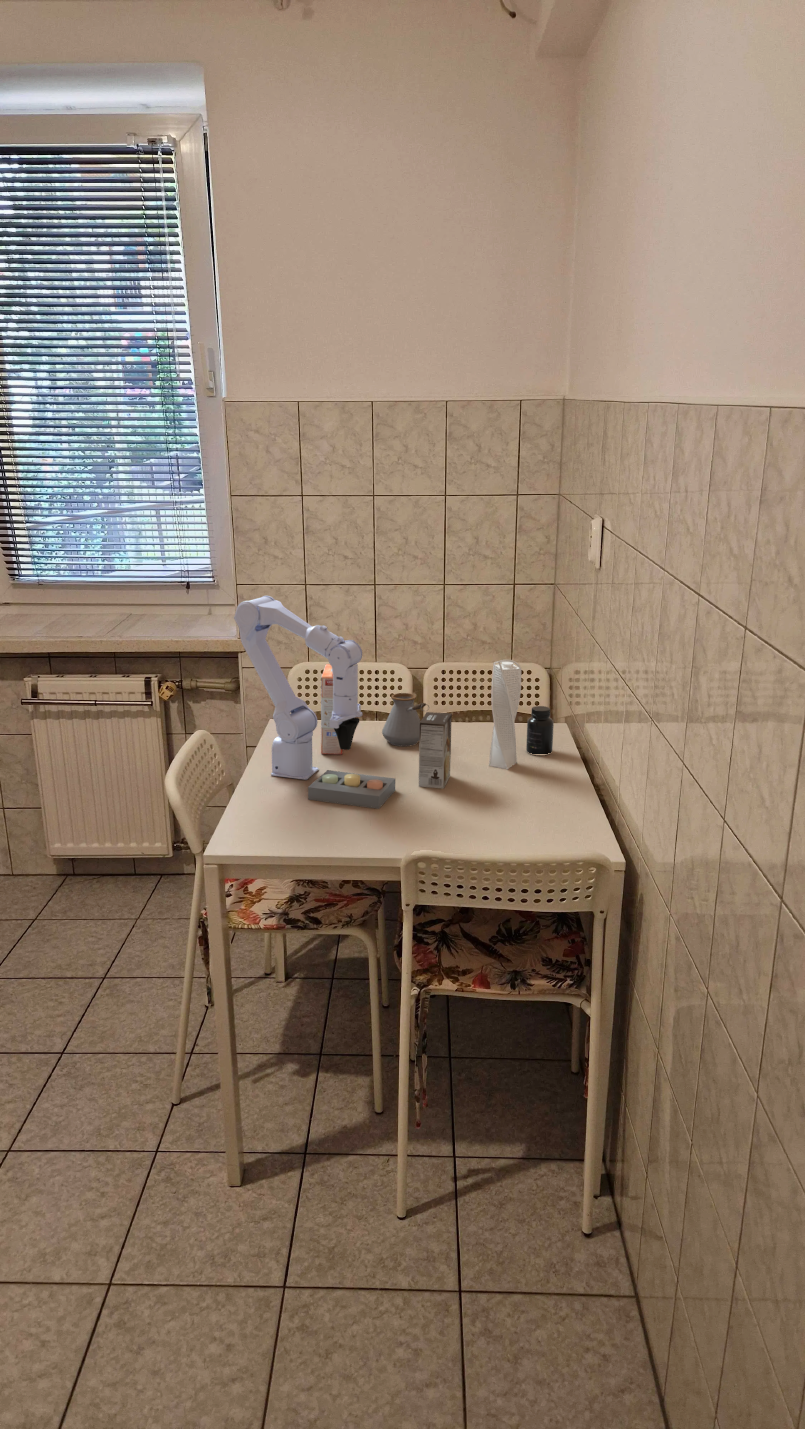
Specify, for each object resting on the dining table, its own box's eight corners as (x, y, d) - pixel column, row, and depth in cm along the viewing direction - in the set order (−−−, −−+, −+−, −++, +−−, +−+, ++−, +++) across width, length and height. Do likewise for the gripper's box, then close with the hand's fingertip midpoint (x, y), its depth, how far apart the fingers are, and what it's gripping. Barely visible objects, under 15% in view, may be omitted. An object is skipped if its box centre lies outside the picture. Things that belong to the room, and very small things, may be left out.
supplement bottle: (533, 746, 266) (536, 703, 263) (556, 751, 263) (559, 707, 259) (521, 752, 261) (523, 708, 258) (544, 758, 257) (546, 713, 254)
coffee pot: (376, 737, 271) (376, 684, 267) (415, 733, 275) (416, 681, 271) (403, 762, 252) (404, 705, 248) (445, 758, 256) (446, 702, 252)
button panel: (308, 799, 228) (308, 787, 227) (327, 781, 239) (327, 770, 238) (378, 808, 223) (378, 796, 222) (395, 790, 234) (395, 778, 233)
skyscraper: (509, 772, 247) (514, 662, 239) (482, 766, 250) (486, 658, 242) (522, 763, 253) (527, 655, 245) (495, 757, 257) (500, 651, 249)
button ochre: (342, 791, 229) (342, 778, 228) (347, 786, 233) (347, 773, 232) (357, 793, 228) (357, 780, 227) (362, 788, 232) (362, 774, 231)
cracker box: (343, 755, 257) (343, 677, 251) (320, 755, 257) (319, 676, 251) (347, 738, 270) (347, 663, 264) (325, 738, 270) (324, 663, 264)
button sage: (319, 791, 231) (319, 778, 230) (325, 786, 234) (325, 773, 233) (334, 793, 230) (334, 780, 229) (340, 788, 233) (340, 775, 232)
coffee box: (424, 773, 245) (426, 711, 240) (450, 775, 244) (452, 712, 239) (417, 786, 236) (419, 722, 232) (444, 789, 235) (446, 724, 230)
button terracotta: (364, 797, 228) (364, 784, 227) (370, 792, 231) (370, 778, 230) (379, 799, 227) (379, 785, 226) (384, 794, 230) (384, 780, 229)
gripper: (349, 703, 224) (349, 760, 228) (372, 687, 237) (372, 741, 241) (320, 700, 226) (321, 756, 230) (345, 684, 239) (345, 738, 243)
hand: (345, 748), depth 236 cm, fingers closed
